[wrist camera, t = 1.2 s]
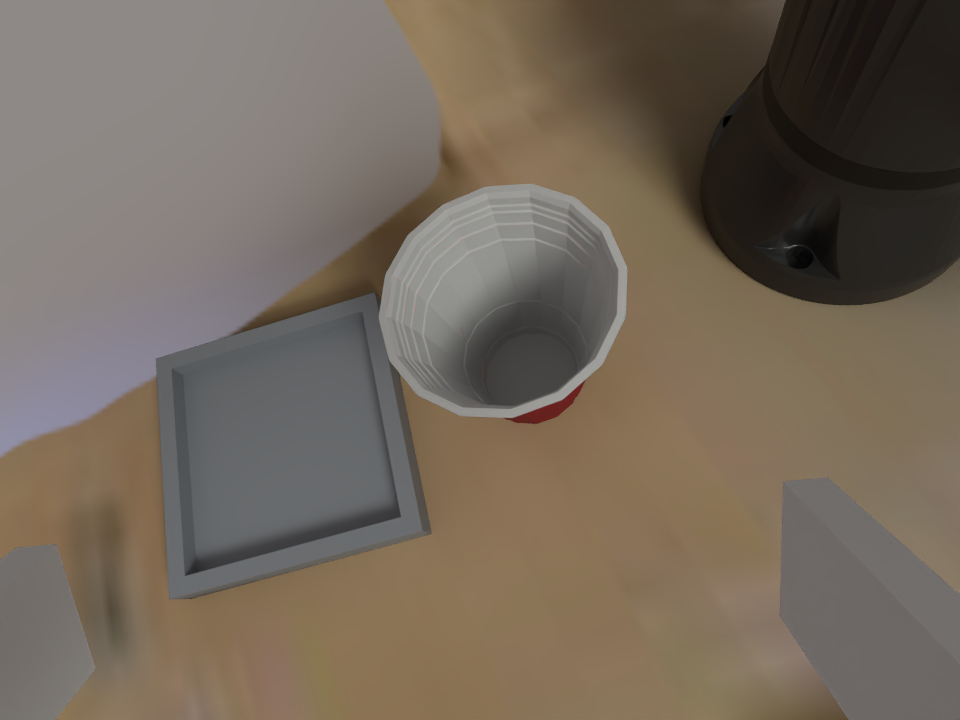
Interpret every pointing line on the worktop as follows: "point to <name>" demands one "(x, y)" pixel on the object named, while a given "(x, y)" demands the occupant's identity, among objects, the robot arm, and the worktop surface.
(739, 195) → the robot arm
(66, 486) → the worktop surface
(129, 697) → the worktop surface
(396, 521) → the tray
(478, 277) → the plastic cup
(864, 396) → the worktop surface
